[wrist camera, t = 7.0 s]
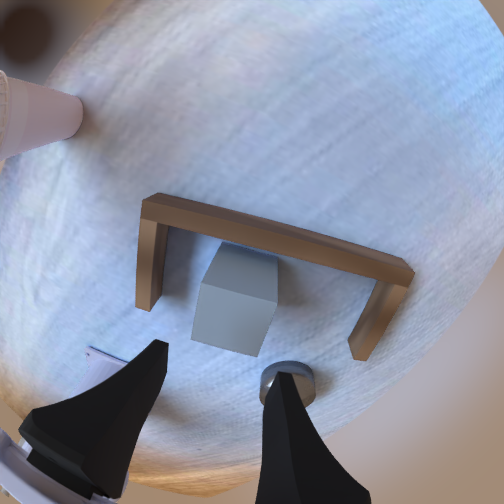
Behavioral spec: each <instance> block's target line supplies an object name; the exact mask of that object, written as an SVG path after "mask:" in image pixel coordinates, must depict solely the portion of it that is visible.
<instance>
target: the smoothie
mask: <svg viewBox="0 0 504 504" xmlns="http://www.w3.org/2000/svg"><path fill="white" fill-rule="evenodd" d="M82 119H83V105H82V102H81V100H80V99H79V98H78V97H76V96H73V95H70V94H67V93H63V92H60V91H57V90H54V89H50V88H47V87H44V86H40V85H37V84H33V83H29V82H25V81H22V80H18V79H14V78H10V77H7V76H6V74H5V73H4V72H3V71H1V70H0V161H2V160H4V159H7V158H9V157H12V156H14V155H17V154H20V153H22V152H25V151H28V150H31V149H34V148H37V147H40V146H43V145H46V144H50V143H53V142H57V141H60V140H64V139H67V138H70V137H72V136H73V135H74V134H75V133H76V132H77V131H78V129H79V127H80V125H81V123H82Z"/></svg>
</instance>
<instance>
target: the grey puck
mask: <svg viewBox="0 0 504 504" xmlns="http://www.w3.org/2000/svg"><path fill="white" fill-rule="evenodd" d="M278 371H281V372H286V373H291V374H292V375H293V378H294V381H295V384H296V387H297V390H298V392H299V395H300V397H301V400H302V402H303V405H304V407H307V406H309V405H310V404H311V403H312V402H313V401H314V399H315V396H316V393H315V384H314V376H313V372H312V370H311V369H310V368H309V367H308V366H307V365H305V364H303V363H301V362H297V361H281V362H277V363H274V364H272V365H270V366H268V367H267V368H266V369H265V370H264V371H263V372H262V375H261V383H260V395H259V398H260V401H261V403H262V404H263V405H264V403H265V397H266V395H267V393H268V391H269V389H270V387H271V385H272V382H273V380H274V378H275V376H276V374H277V372H278Z"/></svg>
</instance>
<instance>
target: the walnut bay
mask: <svg viewBox="0 0 504 504" xmlns="http://www.w3.org/2000/svg"><path fill="white" fill-rule="evenodd" d="M169 226H173V227H177V228H181V229H185V230H189V231H193V232H197V233H201V234H205V235H208V236H212V237H216V238H220V239H224V240H228V241H232V242H236V243H240V244H243V245H247V246H251V247H255V248H259V249H263V250H267V251H270V252H274V253H278V254H282V255H286V256H290V257H293V258H297V259H301V260H305V261H309V262H312V263H316V264H320V265H324V266H328V267H331V268H335V269H339V270H343V271H347V272H350V273H354V274H358V275H362V276H365V277H369V278H373V279H377V280H378V281H377V283H376V285H375V287H374V290H373V292H372V294H371V296H370V298H369V300H368V302H367V304H366V306H365V308H364V310H363V312H362V314H361V316H360V318H359V320H358V322H357V324H356V325H355V327H354V329H353V331H352V333H351V335H350V336H349V338H348V343H349V346H350V350H351V353H352V356H353V360H360V361H367V359H368V358H369V356H370V354H371V353H372V351H373V350H374V348H375V347H376V345H377V343H378V342H379V340H380V338H381V337H382V335H383V333H384V332H385V330H386V328H387V326H388V325H389V323H390V321H391V319H392V318H393V316H394V314H395V312H396V310H397V308H398V307H399V305H400V303H401V301H402V299H403V297H404V295H405V293H406V291H407V289H408V287H409V285H410V283H411V281H412V279H413V277H414V275H415V272H414V271H413V270H412V269H411V268H410V267H409V265H408V264H407V263H406V262H405V261H404V260H403V259H402V258H399V257H396V256H393V255H390V254H387V253H383V252H380V251H377V250H374V249H370V248H367V247H364V246H361V245H357V244H354V243H351V242H347V241H344V240H340V239H337V238H334V237H330V236H327V235H323V234H320V233H316V232H313V231H309V230H305V229H302V228H298V227H295V226H291V225H287V224H284V223H280V222H276V221H272V220H269V219H265V218H261V217H257V216H253V215H249V214H245V213H242V212H238V211H234V210H230V209H226V208H222V207H217V206H213V205H209V204H205V203H201V202H197V201H192V200H188V199H184V198H179V197H175V196H171V195H166V194H162V193H156V194H154V195H152V196H150V197H148V198H146V199H143V200H142V208H141V217H140V227H139V238H138V251H137V269H136V303H135V307H137V308H139V309H142V310H145V311H148V312H150V311H151V309H152V308H153V306H154V305H155V303H156V302H157V301H158V299H159V298H160V296H161V293H162V281H163V271H164V262H165V253H166V245H167V237H168V229H169Z"/></svg>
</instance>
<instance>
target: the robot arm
mask: <svg viewBox="0 0 504 504" xmlns="http://www.w3.org/2000/svg"><path fill="white" fill-rule="evenodd" d="M168 346H169V343H166V342H163V341H160V340H157V339H155V340H153V341H152V342H151V343H150V344H149V345H148V346H147V347H146V348H145V349H144V350H143V351H142V352H141V353H140V354H139V355H137V356H136V357H135V358H134V359H133V360H132V361H130V362H129V363H126V362H123V361H121V360H118V359H116V358H113V357H111V356H109V355H106V354H104V353H102V352H99V351H97V350H95V349H93V348H91V347H88V346H86V347H85V348H84V351H85V355H86V360H87V364H88V370H87V371H86V373H85V374H84V375H83V377H82V378H81V380H80V381H79V383H78V384H77V386H76V387H75V389H74V390H73V392H72V393H71V395H70V396H69V398H68V399H66V400H64V401H61V402H58V403H55V404H52V405H48V406H44V407H40V408H36V409H33V410H32V411H31V412H30V413H29V414H28V415H27V417H26V418H25V420H24V421H23V423H22V424H21V426H20V427H19V429H18V430H19V433H20V434H21V436H22V437H23V438H24V439H25V440H26V441H25V442H24V444H23V446H22V448H21V447H20V446H19V445H17V444H16V443H15V442H14V441H13V440H12V439H11V438H10V437H9V436H8V434H7V433H6V432H4V430H2V429H1V428H0V485H1V486H2V487H3V488H4V489H5V490H6V491H8V492H9V493H10V494H11V495H12V496H13V497H14V498H16V499H17V500H18V501H19V502H20V503H21V504H117V503H116V502H117V501H118V500H119V499H120V498H121V496H122V495H123V493H124V491H125V489H126V486H127V483H128V478H129V472H128V467H129V464H130V461H131V457H132V454H133V451H134V448H135V445H136V442H137V439H138V436H139V434H140V431H141V429H142V427H143V424H144V422H145V420H146V418H147V416H148V415H149V414H150V410H151V408H152V406H153V404H154V402H155V400H156V398H157V396H158V394H159V392H160V390H161V387H162V385H163V382H164V379H165V376H166V373H167V362H168ZM255 504H371V497H370V493H369V491H368V490H366V489H365V488H364V487H363V486H362V485H360V484H359V483H358V482H357V481H356V480H355V479H354V478H353V477H352V476H350V474H349V473H347V471H346V470H345V469H344V468H343V467H342V466H341V465H340V464H339V462H338V461H337V460H336V459H335V458H334V456H333V455H332V454H331V452H330V451H329V450H328V448H327V447H326V445H325V444H324V442H323V441H322V439H321V438H320V436H319V434H318V433H317V431H316V429H315V427H314V425H313V423H312V422H311V420H310V418H309V416H308V413H307V411H306V409H305V407H304V405H303V402H302V400H301V397H300V395H299V392H298V390H297V387H296V384H295V381H294V378H293V375H292V374H291V373H286V372H281V371H278V372H277V374H276V376H275V378H274V380H273V382H272V385H271V387H270V389H269V391H268V393H267V395H266V397H265V403H264V410H263V431H262V465H261V472H260V479H259V485H258V491H257V496H256V502H255Z"/></svg>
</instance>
